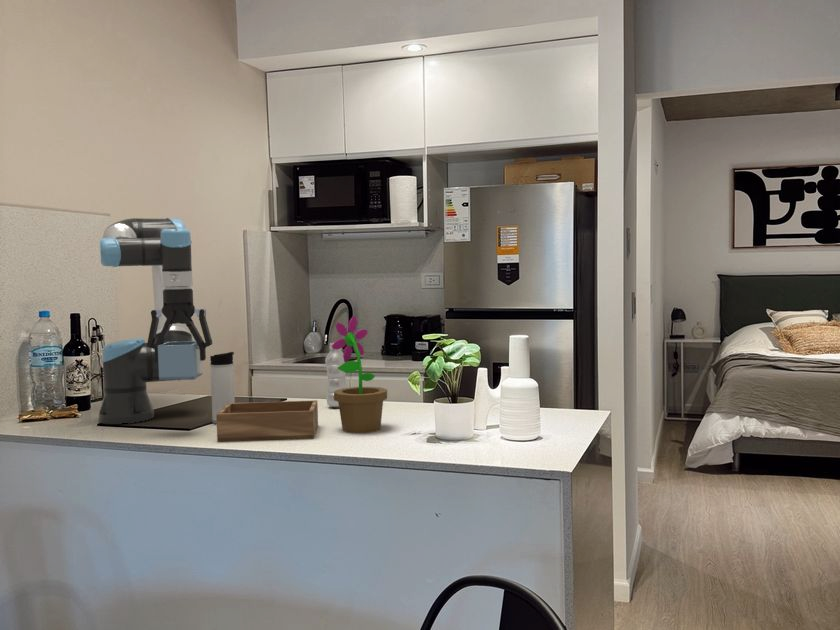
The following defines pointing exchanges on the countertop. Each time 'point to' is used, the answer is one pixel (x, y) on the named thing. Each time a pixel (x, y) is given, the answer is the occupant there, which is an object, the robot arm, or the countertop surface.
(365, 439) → the countertop surface
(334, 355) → the plastic bottle
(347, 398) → the flowerpot
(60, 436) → the countertop surface
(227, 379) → the travel mug
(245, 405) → the walnut crate
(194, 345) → the slate crate
